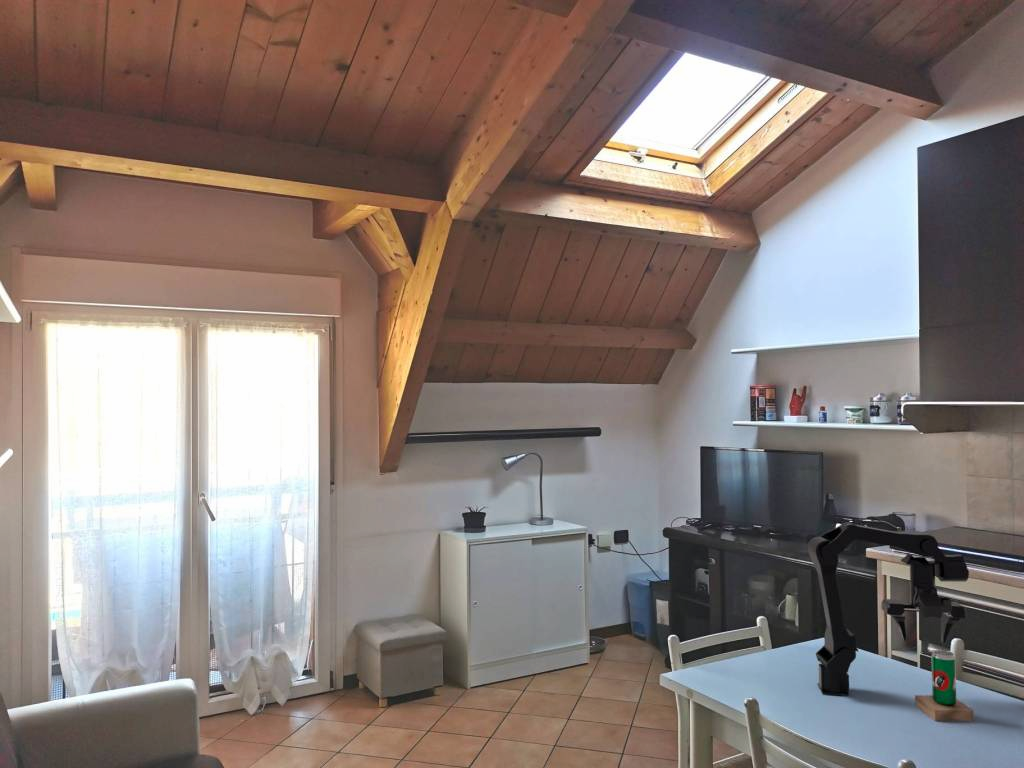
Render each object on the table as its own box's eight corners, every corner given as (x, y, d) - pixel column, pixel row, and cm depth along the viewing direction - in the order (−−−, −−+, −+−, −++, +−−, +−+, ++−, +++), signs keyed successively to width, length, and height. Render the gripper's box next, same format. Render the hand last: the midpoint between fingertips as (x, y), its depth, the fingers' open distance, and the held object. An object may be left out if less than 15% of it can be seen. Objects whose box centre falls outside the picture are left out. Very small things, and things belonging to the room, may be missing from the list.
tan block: (935, 720, 176) (934, 710, 176) (915, 705, 185) (914, 695, 185) (973, 721, 175) (973, 710, 175) (951, 705, 184) (951, 695, 184)
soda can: (959, 707, 177) (958, 656, 177) (936, 706, 178) (935, 655, 178) (951, 699, 182) (950, 649, 182) (929, 697, 183) (928, 648, 183)
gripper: (893, 587, 187) (894, 649, 187) (975, 590, 184) (976, 654, 183) (880, 577, 198) (881, 636, 198) (957, 579, 195) (958, 640, 194)
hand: (923, 641), depth 193 cm, fingers open, 9 cm apart
